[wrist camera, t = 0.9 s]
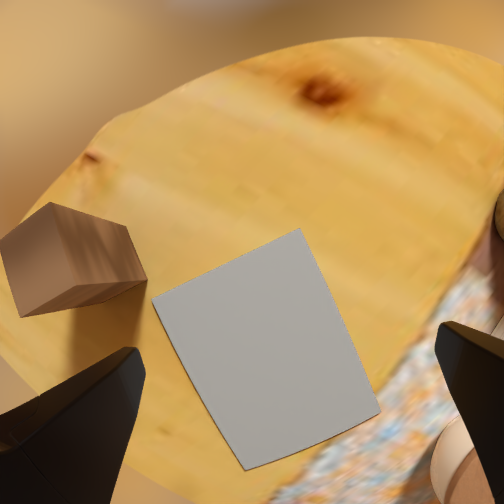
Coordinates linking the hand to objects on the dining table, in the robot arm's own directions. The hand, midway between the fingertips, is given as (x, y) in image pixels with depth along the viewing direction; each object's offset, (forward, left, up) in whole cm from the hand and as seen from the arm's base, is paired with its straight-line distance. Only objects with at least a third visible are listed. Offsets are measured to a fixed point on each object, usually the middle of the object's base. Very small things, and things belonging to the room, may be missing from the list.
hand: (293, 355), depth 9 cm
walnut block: (-1, +13, -14) cm, 19 cm away
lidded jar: (-9, -21, -15) cm, 27 cm away
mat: (-4, -1, -14) cm, 15 cm away
